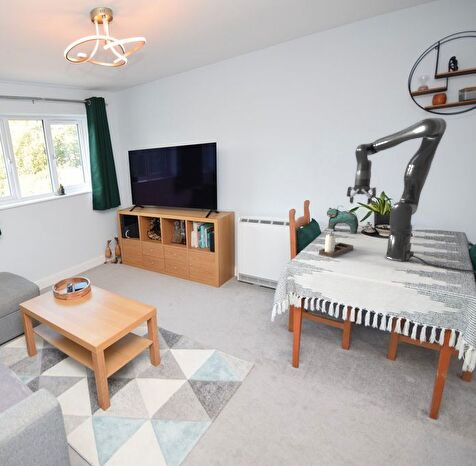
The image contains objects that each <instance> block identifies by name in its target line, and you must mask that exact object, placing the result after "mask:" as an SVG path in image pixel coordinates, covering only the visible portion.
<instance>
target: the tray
mask: <svg viewBox="0 0 476 466" xmlns="http://www.w3.org/2000/svg"><path fill="white" fill-rule="evenodd" d="M353 250H354V245H353V244H349V243H344V242H338V243H335V250H334V253H329V252H325V248H322V249H319V251H318V255H320V256H324V257H328V258H335V257H337V256H340V255H343V254H346V253H348V252H350V251H353Z"/></svg>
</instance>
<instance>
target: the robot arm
mask: <svg viewBox="0 0 476 466" xmlns="http://www.w3.org/2000/svg"><path fill="white" fill-rule="evenodd" d="M447 125H448V124H447V120H445V119H444V118H443V117H428V118H424V119H422V120H420V121H417V122H415V123H414V124H412V125H410V126H408V127H405V128H403V129H402V130H399V131H397V132H394V133H392V134H388V135H386V136H383V137H380V138H378V139H376V140H374V141H372V142H369V143H361V144H359V145H358V146H357V147H356V148H355V152H354V154H355V160H356V171H355V175H354V186H348V187H347V190H346V191H347V192H346V197H349V203H350V204H351V205H352V204H354V199H355V198H354V197H355V196H356V195H364V196H366V198H367V201H366V202H367V203H366V205H370V204H371V203H372V199H374V198H376V196H377V187H376V186H375V187H371V178H372V165H373V162H372V160H371V159H369V156H373V155H375V154H377V153H380V152H383V151H386V150H388V149H389V150H390V149H392V148H394V147H397V146H399V145H401V144H403V143H405V142H407V141H411V140H415V139H421V138H422V139H421V143H420V145H419V146H418V149H417V150H416V151H415V153H414V154H413V155H412V156H411V158H410V159H409V161H408V163H407V165H406V167H405V171H404V174H403V191H402V195H401V196H400V198H399V201H398V202H395V203H393V204H392V205H391V208H390V210H389V211H390V213H389V220H388V221H389V222H388V223H389V232H388V233H389V234H388V241H387V246H386V254H385V258H386V259H388V260H391V261H395V262H406V261H408V260H410V259H411V258H415V259H417V260H420V261H421V262H422V263H423V264H425V265H427V266H431V267H438V268H443V269H448V270H453V271H460V272H469V273H474V274H476V270H473V269H463V268H455V267H450V266H445V265H439V264H432V263H430V262H426V261H425V260H424V259H423V258H420V257H419V256H416V255H415V252H414V251H411V249H412V242H411V239H412V234H413V233H412V232H413V227H414V226H413V224H412V216H414V215H415V214H416V213H417V211H418V209H419V208H418V207H419V203H420V197H421V194H422V191H423V189H424V187H425V184H426V181H427V178H428V176H429V173H430V171H431V167H432V165H433V161H434V158H435V155H436V152H437V149H438V147H439V145H440V143H441V141H442V139H443V136H444V134H445V132H446V129H447ZM352 191H353V192H352ZM369 191H371V193H370V192H369ZM351 193H352V194H351Z"/></svg>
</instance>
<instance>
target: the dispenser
mask: <svg viewBox="0 0 476 466" xmlns="http://www.w3.org/2000/svg"><path fill="white" fill-rule="evenodd" d="M326 231H328V233H327V234H325V242H324V249H325V252H329V253H334V250H335V244H336V238H337V237H336V234H335V233H333V232H335V230H334V229H329V228H328V227H327V228H326Z"/></svg>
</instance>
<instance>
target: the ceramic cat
mask: <svg viewBox="0 0 476 466" xmlns="http://www.w3.org/2000/svg"><path fill="white" fill-rule="evenodd" d="M339 207H342V208H344V206H343V205H337V208H332V207H329V208H328V210H327V211H326V216H327V217H329V218H328V224H327V229H328V228H329V229H334V231H336V230H335V229H336V226H337V225H338V224H345V225H348V226H349V229H350V234H353V235H356V234H357V233H358V229H359V219H358V216H357V213H356V212H355V211H353V210H349V211H347V210H339Z"/></svg>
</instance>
